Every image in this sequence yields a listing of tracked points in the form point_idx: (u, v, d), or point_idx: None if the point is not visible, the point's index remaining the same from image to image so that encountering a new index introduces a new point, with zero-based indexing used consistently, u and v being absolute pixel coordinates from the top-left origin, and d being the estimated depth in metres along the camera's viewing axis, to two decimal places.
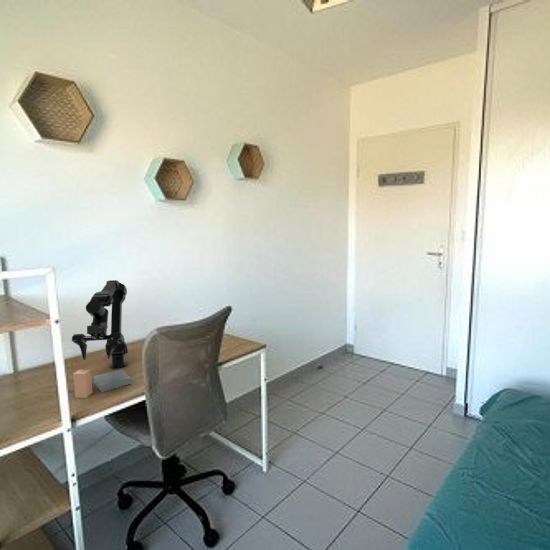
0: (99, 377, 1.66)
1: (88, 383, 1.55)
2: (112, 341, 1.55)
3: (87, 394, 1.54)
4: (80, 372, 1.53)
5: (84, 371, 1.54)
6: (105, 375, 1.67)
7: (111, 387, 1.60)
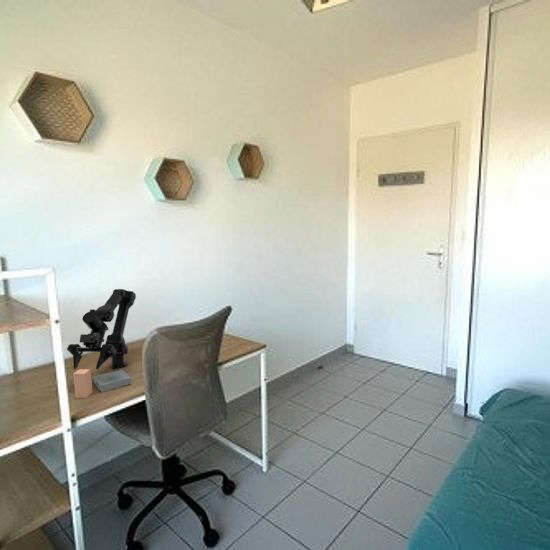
0: (99, 377, 1.66)
1: (88, 383, 1.55)
2: (102, 352, 1.59)
3: (87, 394, 1.54)
4: (80, 372, 1.53)
5: (84, 371, 1.54)
6: (105, 375, 1.67)
7: (111, 387, 1.60)
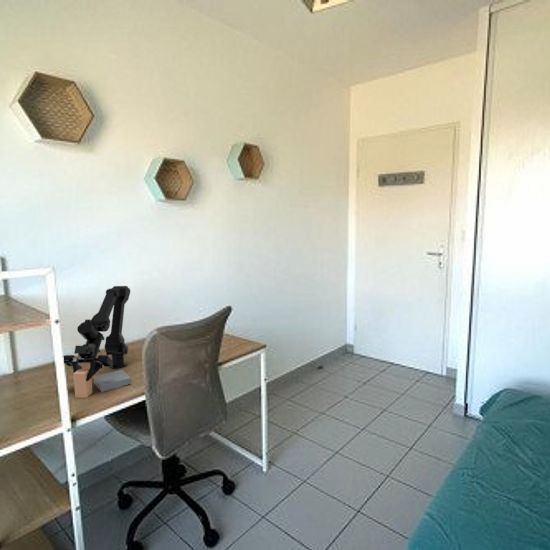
0: (99, 377, 1.66)
1: (88, 383, 1.55)
2: (93, 363, 1.55)
3: (87, 394, 1.54)
4: (80, 372, 1.53)
5: (84, 371, 1.54)
6: (105, 375, 1.67)
7: (111, 387, 1.60)
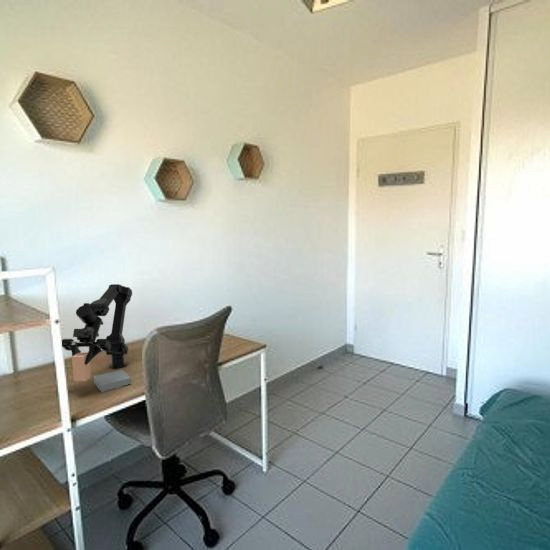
0: (99, 377, 1.66)
1: (87, 366, 1.54)
2: (91, 347, 1.54)
3: (86, 378, 1.53)
4: (78, 356, 1.52)
5: (83, 354, 1.53)
6: (105, 375, 1.67)
7: (111, 387, 1.60)
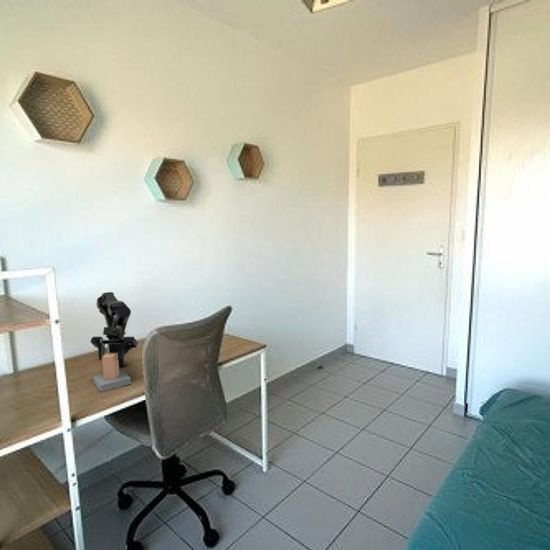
0: (99, 377, 1.66)
1: (116, 366, 1.65)
2: (123, 344, 1.65)
3: (115, 376, 1.64)
4: (108, 355, 1.63)
5: (112, 354, 1.64)
6: None
7: (111, 387, 1.60)
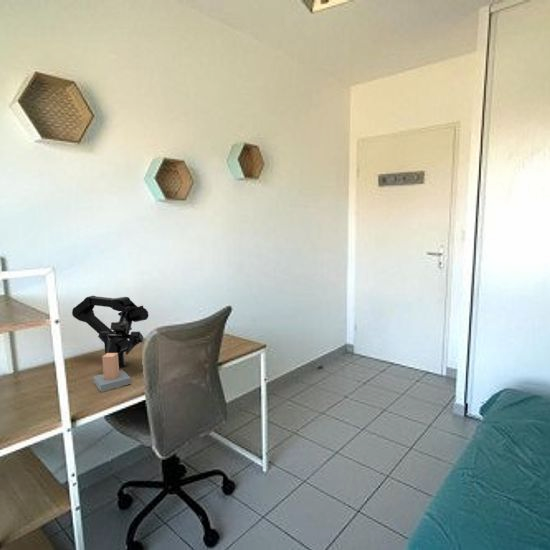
0: (99, 377, 1.66)
1: (116, 366, 1.65)
2: (131, 339, 1.71)
3: (115, 376, 1.64)
4: (108, 355, 1.63)
5: (112, 354, 1.64)
6: None
7: (111, 387, 1.60)
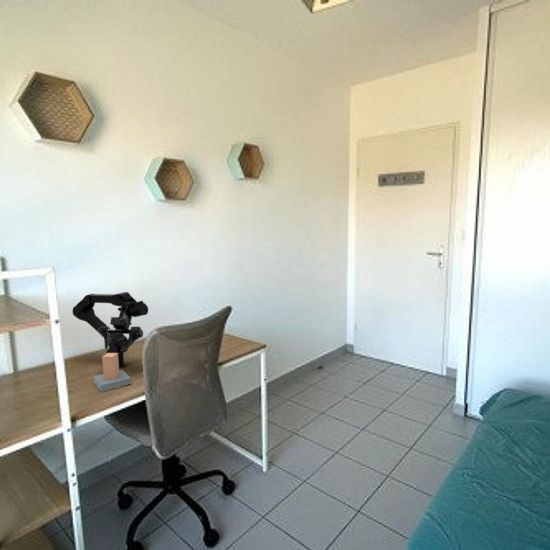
0: (99, 377, 1.66)
1: (116, 366, 1.65)
2: (131, 334, 1.71)
3: (115, 376, 1.64)
4: (108, 355, 1.63)
5: (112, 354, 1.64)
6: None
7: (111, 387, 1.60)
